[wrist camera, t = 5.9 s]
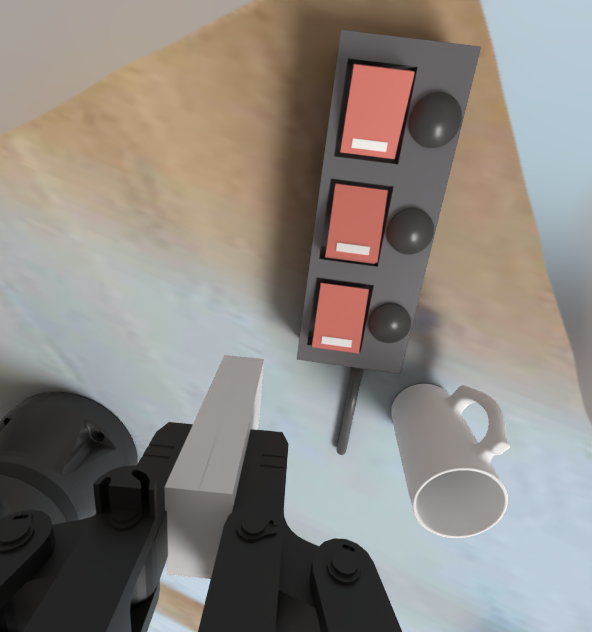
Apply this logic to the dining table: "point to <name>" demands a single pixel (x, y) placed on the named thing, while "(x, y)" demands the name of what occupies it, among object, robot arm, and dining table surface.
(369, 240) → the rocker
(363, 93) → the rocker
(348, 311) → the rocker
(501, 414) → the mug
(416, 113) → the switch panel
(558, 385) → the dining table surface
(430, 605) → the dining table surface
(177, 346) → the dining table surface
